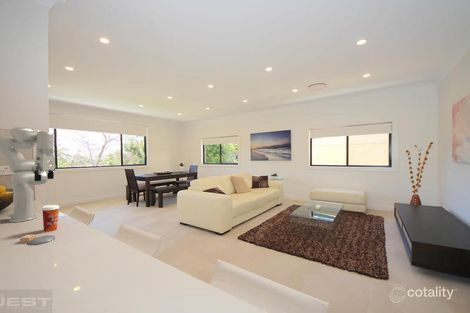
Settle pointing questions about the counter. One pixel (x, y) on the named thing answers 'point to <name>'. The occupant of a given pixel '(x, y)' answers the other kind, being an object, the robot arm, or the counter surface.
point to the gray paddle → (36, 239)
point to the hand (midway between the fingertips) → (44, 179)
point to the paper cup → (50, 217)
